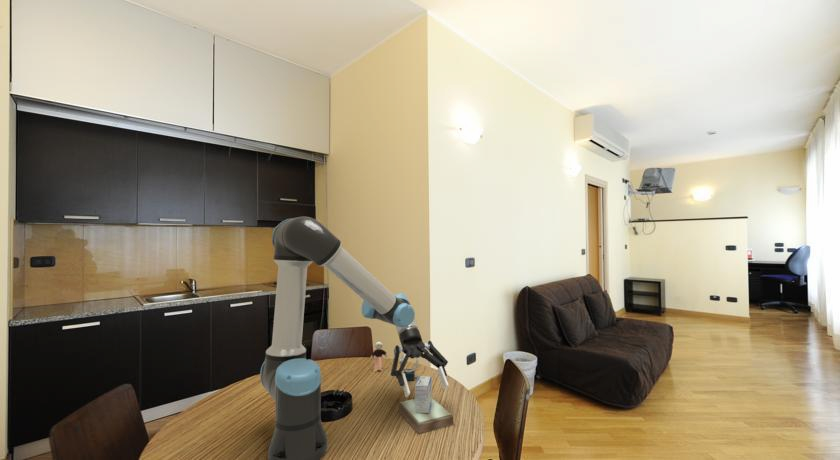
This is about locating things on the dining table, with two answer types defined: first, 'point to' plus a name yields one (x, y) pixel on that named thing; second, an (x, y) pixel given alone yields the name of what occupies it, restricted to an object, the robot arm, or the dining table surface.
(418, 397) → the medicine box
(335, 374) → the dining table surface
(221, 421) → the dining table surface
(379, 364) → the grandmother figurine
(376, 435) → the dining table surface
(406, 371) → the watch
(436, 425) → the platform
